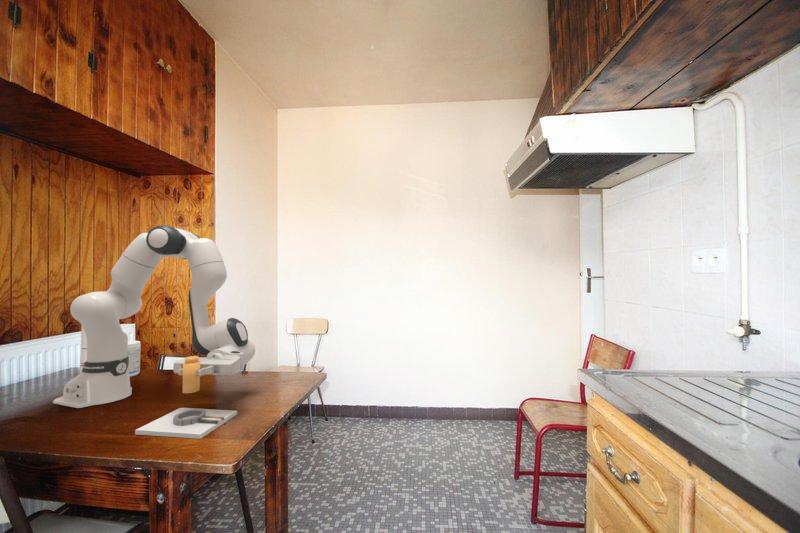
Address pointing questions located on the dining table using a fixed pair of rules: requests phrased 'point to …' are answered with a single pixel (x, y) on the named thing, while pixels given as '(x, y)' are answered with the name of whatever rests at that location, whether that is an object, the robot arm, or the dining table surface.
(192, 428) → the plate
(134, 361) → the supplement tub
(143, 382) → the dining table surface
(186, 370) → the tan capped bottle
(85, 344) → the cylindrical container
